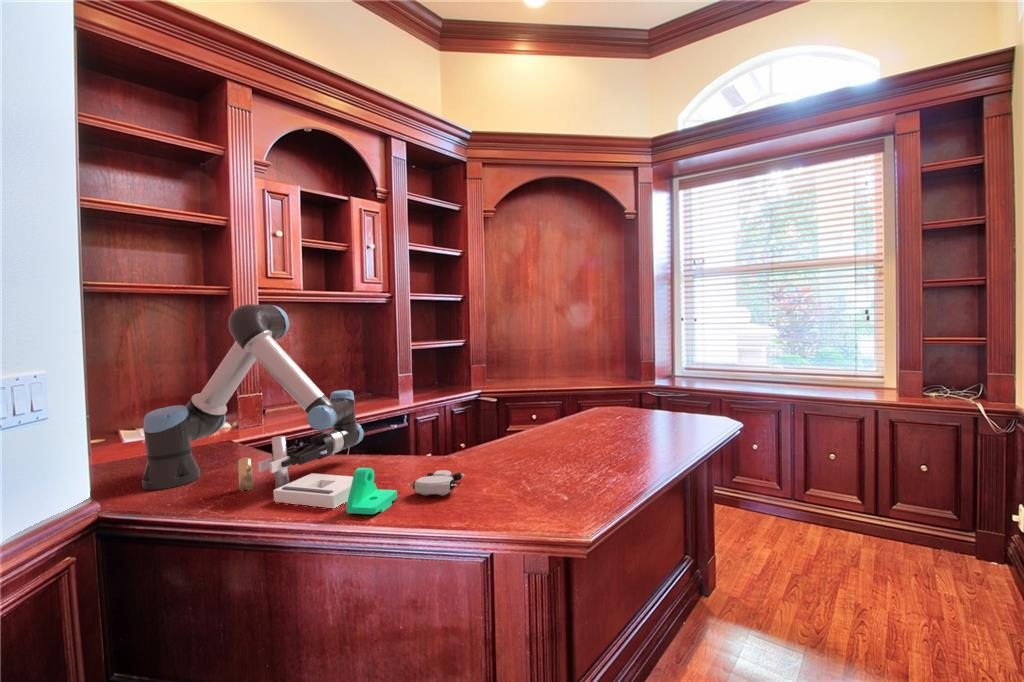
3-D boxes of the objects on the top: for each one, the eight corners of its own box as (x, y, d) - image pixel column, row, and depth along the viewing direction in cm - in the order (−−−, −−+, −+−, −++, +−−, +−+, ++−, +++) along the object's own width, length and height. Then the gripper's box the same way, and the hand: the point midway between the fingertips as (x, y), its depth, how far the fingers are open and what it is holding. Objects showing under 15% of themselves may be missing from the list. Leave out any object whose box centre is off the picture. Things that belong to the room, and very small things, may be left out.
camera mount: (374, 519, 117) (371, 477, 117) (346, 517, 119) (343, 475, 119) (399, 500, 129) (396, 461, 128) (373, 498, 131) (370, 461, 130)
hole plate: (274, 502, 131) (273, 488, 131) (312, 484, 144) (311, 472, 144) (334, 509, 124) (332, 494, 124) (368, 489, 137) (367, 476, 137)
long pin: (277, 491, 140) (273, 436, 140) (291, 489, 141) (286, 435, 140) (274, 495, 137) (270, 439, 136) (288, 493, 138) (284, 438, 137)
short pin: (242, 487, 145) (239, 458, 145) (255, 486, 146) (252, 456, 146) (238, 492, 142) (235, 461, 141) (251, 490, 143) (249, 460, 142)
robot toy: (426, 484, 142) (407, 499, 128) (426, 468, 143) (406, 482, 128) (467, 484, 140) (452, 500, 126) (466, 468, 141) (451, 482, 126)
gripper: (347, 457, 153) (289, 483, 131) (305, 454, 159) (243, 479, 137) (345, 433, 152) (287, 455, 130) (303, 432, 158) (241, 452, 136)
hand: (265, 467), depth 134 cm, fingers closed on long pin, 3 cm apart
